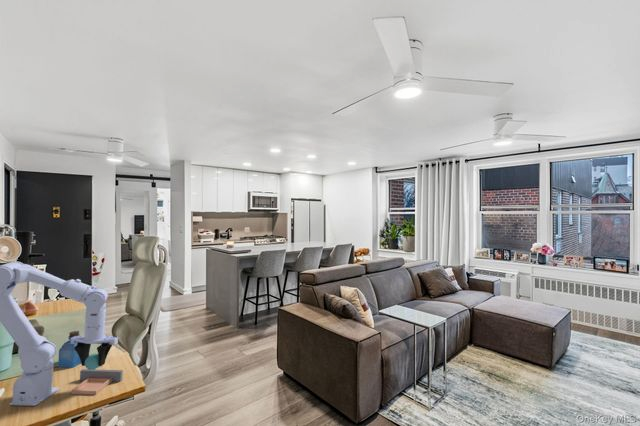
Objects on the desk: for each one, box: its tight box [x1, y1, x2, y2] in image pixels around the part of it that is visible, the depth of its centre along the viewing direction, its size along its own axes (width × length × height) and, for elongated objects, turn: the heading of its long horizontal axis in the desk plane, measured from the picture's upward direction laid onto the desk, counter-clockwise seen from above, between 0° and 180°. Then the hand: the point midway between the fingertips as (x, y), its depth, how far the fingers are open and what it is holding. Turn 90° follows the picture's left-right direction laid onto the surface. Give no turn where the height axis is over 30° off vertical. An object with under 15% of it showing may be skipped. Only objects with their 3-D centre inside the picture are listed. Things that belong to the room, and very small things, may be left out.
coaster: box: [70, 378, 113, 396], centre depth 108 cm, size 8×8×1 cm
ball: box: [84, 353, 100, 370], centre depth 108 cm, size 5×5×5 cm
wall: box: [79, 368, 124, 383], centre depth 112 cm, size 1×14×4 cm, turn 92°
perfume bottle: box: [57, 330, 82, 369], centre depth 124 cm, size 6×6×12 cm
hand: (93, 364), depth 108 cm, fingers closed on ball, 5 cm apart
